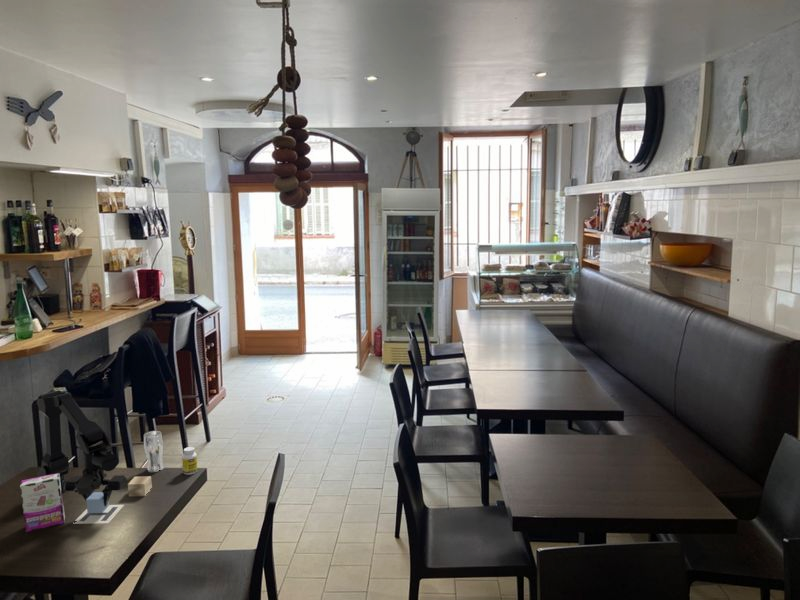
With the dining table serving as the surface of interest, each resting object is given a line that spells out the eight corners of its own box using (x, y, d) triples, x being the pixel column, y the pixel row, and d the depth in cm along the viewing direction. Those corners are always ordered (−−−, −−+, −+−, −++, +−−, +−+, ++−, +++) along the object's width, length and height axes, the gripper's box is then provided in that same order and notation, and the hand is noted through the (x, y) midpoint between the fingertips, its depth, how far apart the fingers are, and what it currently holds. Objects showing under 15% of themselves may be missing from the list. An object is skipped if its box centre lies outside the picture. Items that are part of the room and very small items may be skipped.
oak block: (129, 497, 213) (127, 484, 213) (136, 488, 219) (134, 476, 219) (145, 496, 214) (144, 484, 213) (152, 488, 219) (151, 476, 219)
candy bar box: (65, 516, 200) (60, 472, 197) (64, 523, 196) (59, 478, 193) (26, 525, 195) (21, 479, 192) (25, 532, 191) (19, 486, 188)
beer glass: (142, 470, 234) (139, 435, 231) (156, 463, 240) (153, 429, 237) (154, 474, 231) (151, 438, 228) (168, 467, 237) (165, 432, 234)
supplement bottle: (189, 476, 229) (187, 452, 227) (180, 473, 232) (178, 449, 230) (200, 470, 233) (198, 447, 232) (191, 467, 236) (189, 444, 234)
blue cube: (87, 513, 199) (86, 499, 198) (94, 505, 204) (93, 492, 203) (102, 512, 199) (100, 499, 198) (109, 505, 204) (108, 492, 203)
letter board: (72, 523, 196) (72, 523, 196) (90, 505, 207) (90, 505, 207) (108, 523, 196) (108, 523, 196) (124, 504, 208) (124, 504, 208)
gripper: (52, 474, 190) (57, 519, 193) (110, 474, 191) (114, 518, 193) (71, 459, 201) (75, 501, 204) (125, 459, 202) (129, 501, 204)
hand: (98, 505), depth 201 cm, fingers closed on blue cube, 5 cm apart
